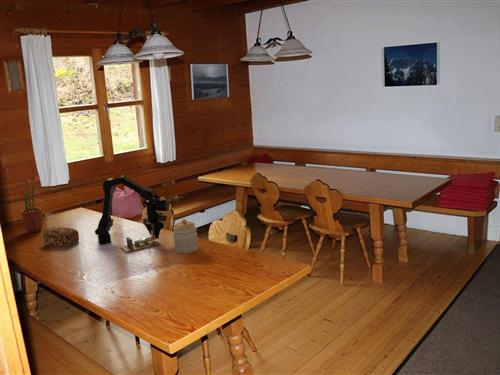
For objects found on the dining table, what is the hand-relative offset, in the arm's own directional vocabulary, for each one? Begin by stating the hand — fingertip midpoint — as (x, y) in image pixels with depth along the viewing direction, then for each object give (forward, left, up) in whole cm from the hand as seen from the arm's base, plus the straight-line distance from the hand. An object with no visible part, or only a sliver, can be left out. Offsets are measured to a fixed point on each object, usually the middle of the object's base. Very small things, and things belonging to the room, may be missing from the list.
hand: (154, 236), depth 281 cm
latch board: (-9, 0, -4) cm, 10 cm away
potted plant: (-52, +82, -4) cm, 97 cm away
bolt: (-5, 0, -2) cm, 6 cm away
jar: (+9, -24, -4) cm, 26 cm away
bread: (-44, +42, -4) cm, 61 cm away
